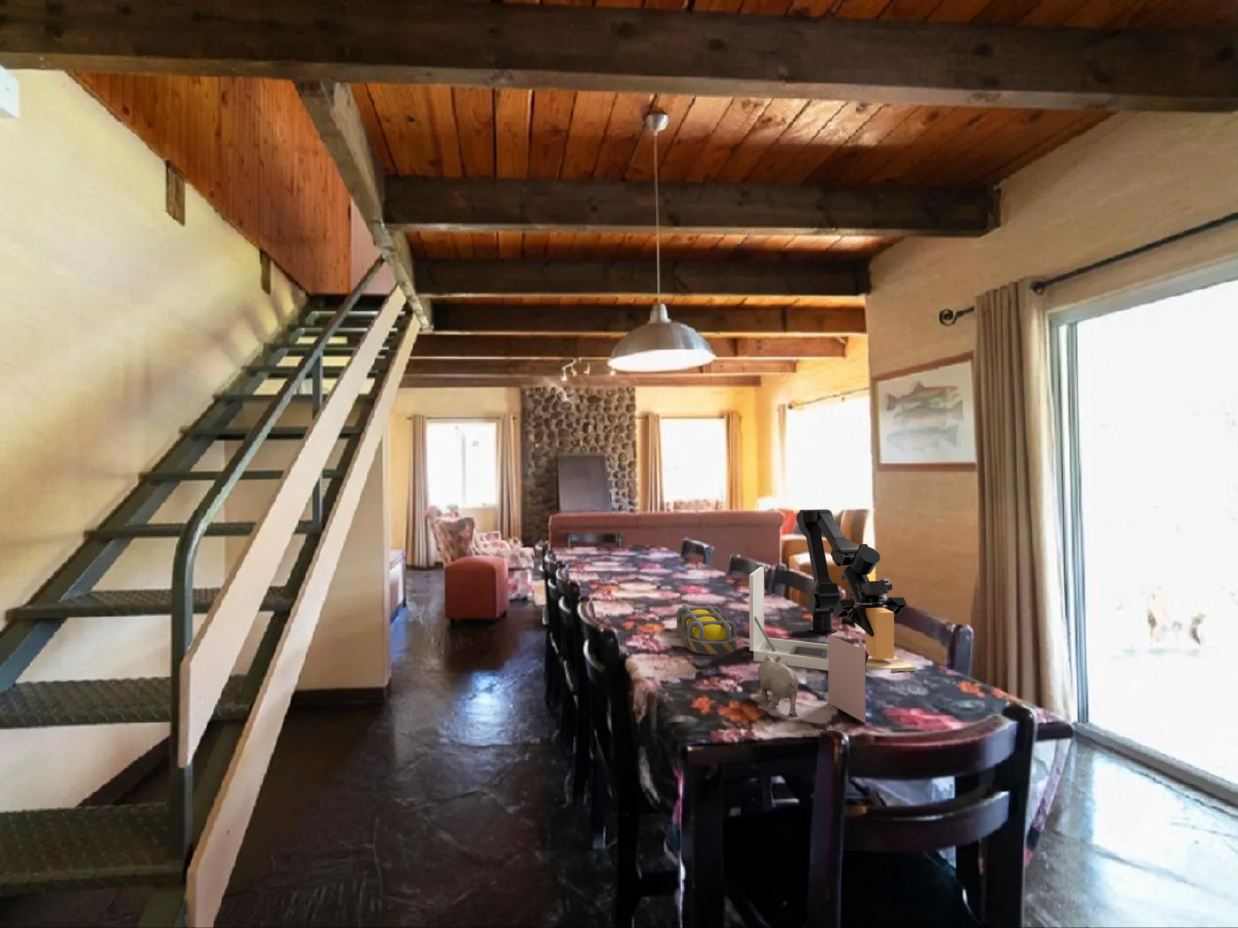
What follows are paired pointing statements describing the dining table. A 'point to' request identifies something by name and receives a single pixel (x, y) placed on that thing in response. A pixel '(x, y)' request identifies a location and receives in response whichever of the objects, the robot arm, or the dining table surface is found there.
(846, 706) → the greeting card
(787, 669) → the rhinoceros figurine
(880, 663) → the wooden board
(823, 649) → the equipment case
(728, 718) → the dining table surface
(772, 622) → the dining table surface
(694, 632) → the cage light
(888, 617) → the block
